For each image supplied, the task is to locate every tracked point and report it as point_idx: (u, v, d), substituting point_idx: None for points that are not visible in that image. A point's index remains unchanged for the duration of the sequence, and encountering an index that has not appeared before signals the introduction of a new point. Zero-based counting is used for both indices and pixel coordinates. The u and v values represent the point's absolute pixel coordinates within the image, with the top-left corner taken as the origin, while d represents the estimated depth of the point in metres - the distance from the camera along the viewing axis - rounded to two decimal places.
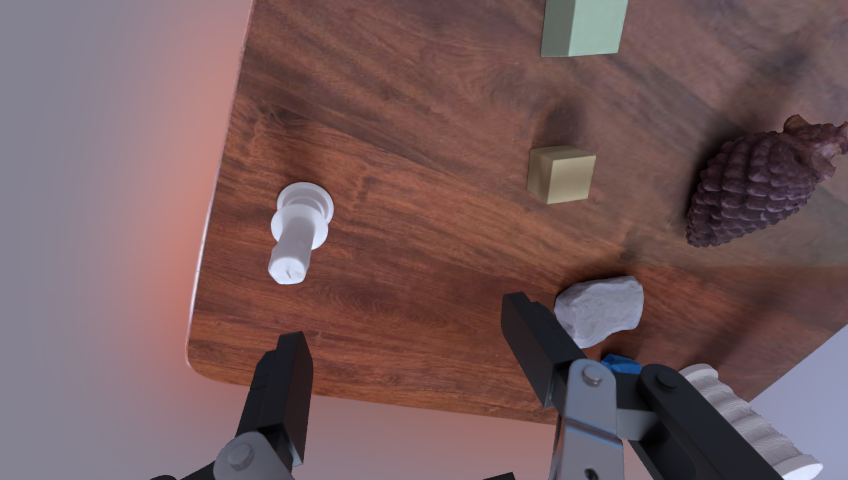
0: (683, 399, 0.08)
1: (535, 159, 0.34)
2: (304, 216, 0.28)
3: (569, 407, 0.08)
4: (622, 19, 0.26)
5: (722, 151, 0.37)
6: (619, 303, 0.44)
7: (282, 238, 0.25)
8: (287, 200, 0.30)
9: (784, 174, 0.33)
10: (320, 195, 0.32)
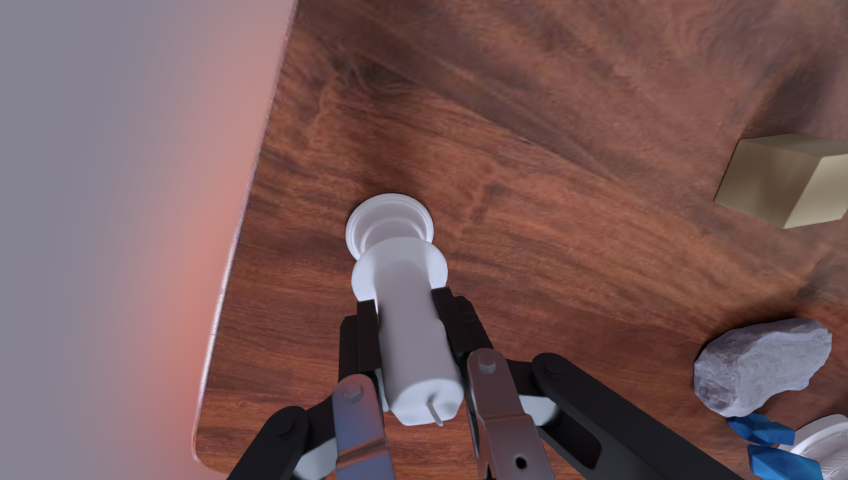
0: (570, 380, 0.09)
1: (754, 156, 0.21)
2: (412, 259, 0.15)
3: (480, 404, 0.09)
4: None
5: None
6: (799, 359, 0.31)
7: (396, 315, 0.12)
8: (368, 225, 0.18)
9: None
10: (417, 214, 0.19)
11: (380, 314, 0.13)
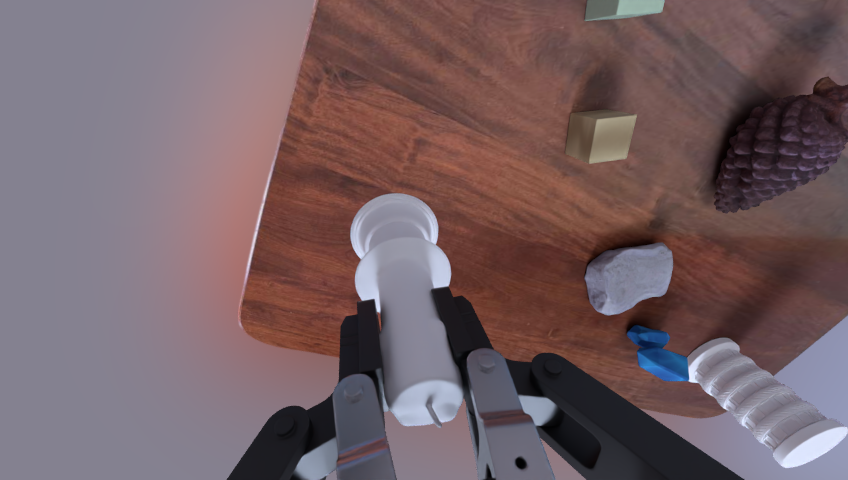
0: (570, 380, 0.09)
1: (576, 122, 0.35)
2: (416, 260, 0.15)
3: (479, 404, 0.09)
4: None
5: (752, 116, 0.39)
6: (650, 268, 0.46)
7: (398, 315, 0.12)
8: (373, 224, 0.18)
9: (816, 133, 0.34)
10: (422, 214, 0.19)
11: (382, 314, 0.13)
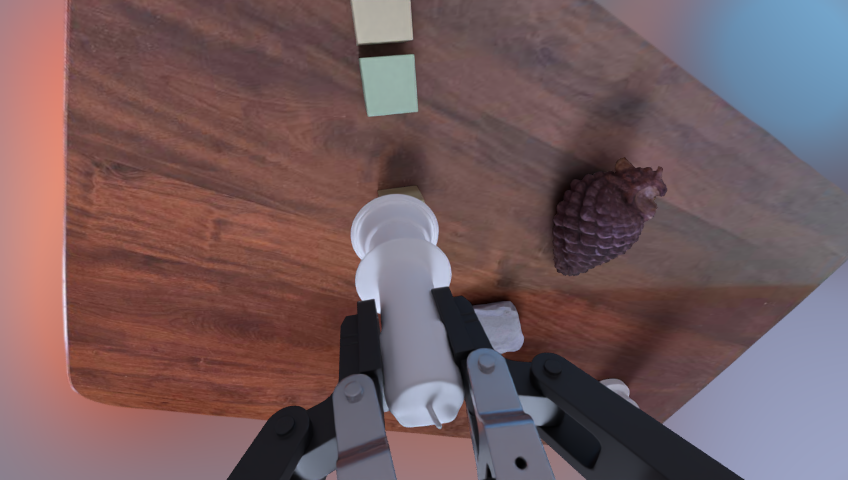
0: (570, 380, 0.09)
1: None
2: (416, 260, 0.15)
3: (479, 404, 0.09)
4: (413, 83, 0.28)
5: (571, 188, 0.40)
6: (495, 327, 0.46)
7: (398, 316, 0.12)
8: (373, 225, 0.18)
9: (608, 214, 0.35)
10: (423, 215, 0.19)
11: (382, 315, 0.13)
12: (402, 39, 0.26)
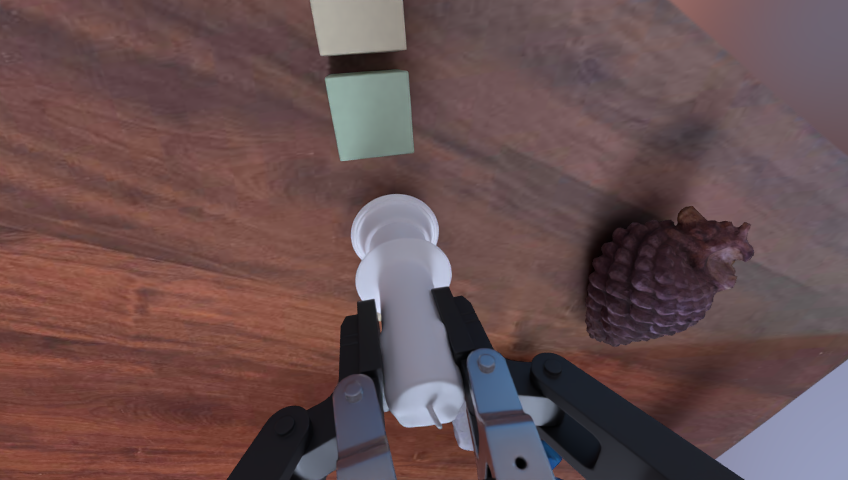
0: (570, 380, 0.09)
1: None
2: (416, 261, 0.15)
3: (479, 404, 0.09)
4: (408, 114, 0.19)
5: (613, 239, 0.30)
6: None
7: (399, 316, 0.12)
8: (373, 225, 0.18)
9: (671, 284, 0.26)
10: (423, 215, 0.19)
11: (383, 315, 0.13)
12: (390, 49, 0.17)
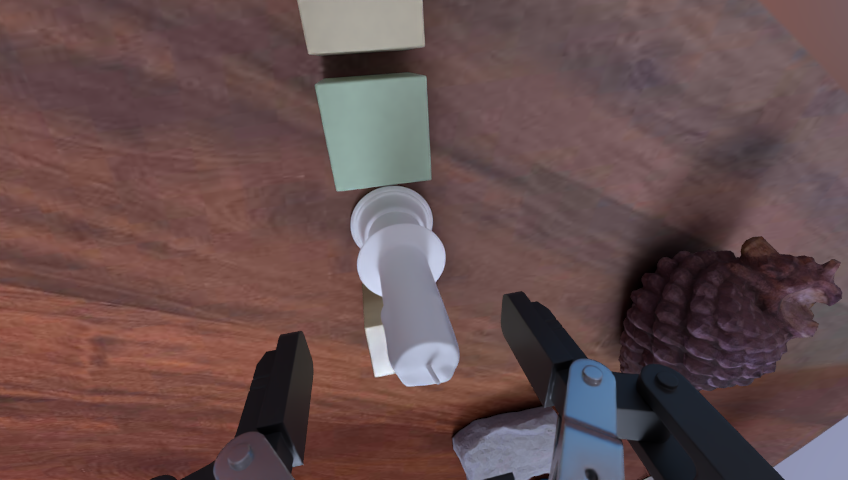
0: (683, 399, 0.08)
1: None
2: (413, 244, 0.16)
3: (569, 407, 0.08)
4: (424, 131, 0.14)
5: (658, 270, 0.26)
6: (533, 451, 0.33)
7: (399, 291, 0.13)
8: (372, 214, 0.19)
9: (739, 332, 0.21)
10: (418, 205, 0.20)
11: (384, 292, 0.14)
12: (403, 46, 0.13)
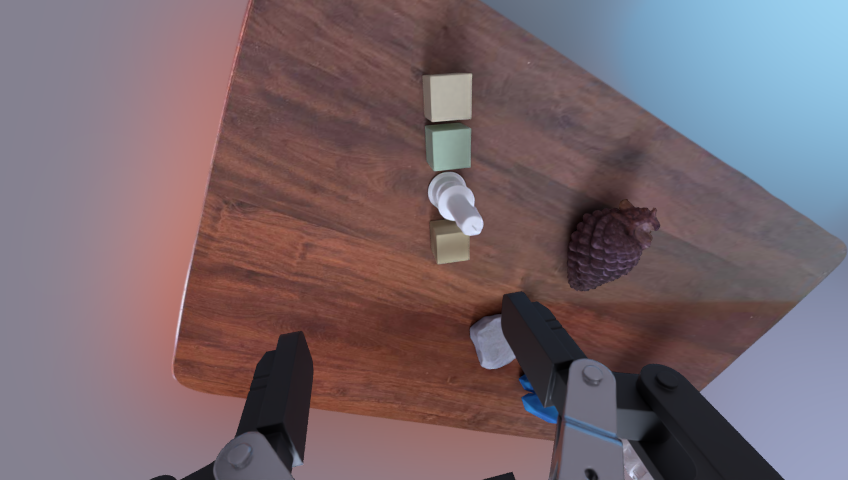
0: (683, 399, 0.08)
1: (431, 230, 0.45)
2: (461, 194, 0.39)
3: (569, 407, 0.08)
4: (469, 148, 0.38)
5: (583, 220, 0.49)
6: None
7: (460, 206, 0.36)
8: (440, 184, 0.42)
9: (613, 244, 0.44)
10: (460, 181, 0.43)
11: (453, 209, 0.37)
12: (463, 118, 0.36)
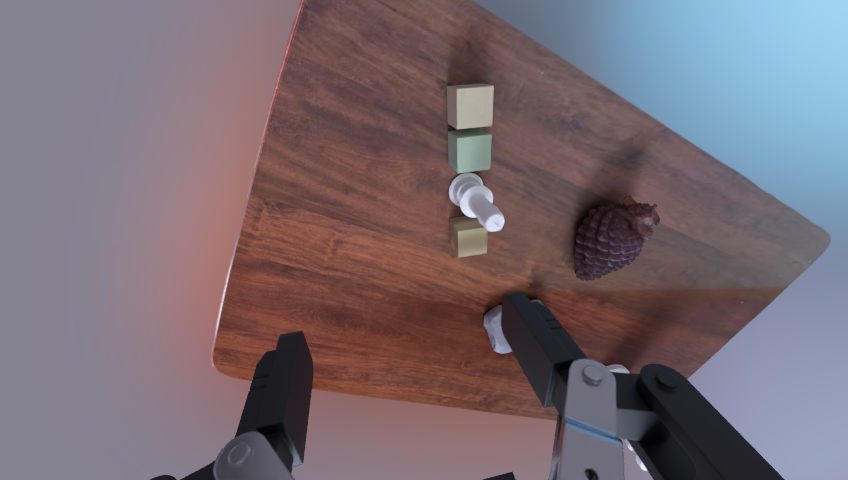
0: (683, 399, 0.08)
1: (451, 226, 0.49)
2: (482, 194, 0.43)
3: (569, 407, 0.08)
4: (489, 152, 0.41)
5: (589, 215, 0.53)
6: None
7: (482, 205, 0.40)
8: (461, 184, 0.46)
9: (618, 237, 0.48)
10: (478, 181, 0.47)
11: (475, 207, 0.41)
12: (485, 126, 0.40)
